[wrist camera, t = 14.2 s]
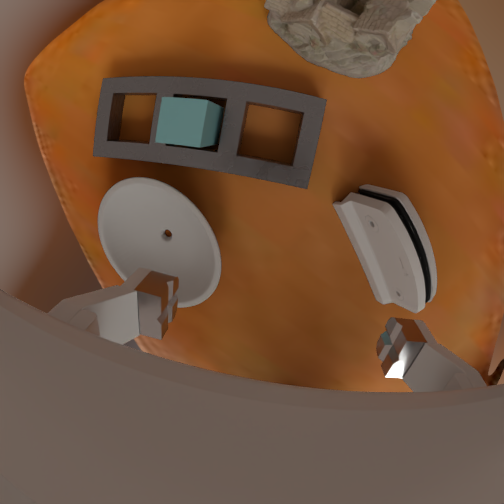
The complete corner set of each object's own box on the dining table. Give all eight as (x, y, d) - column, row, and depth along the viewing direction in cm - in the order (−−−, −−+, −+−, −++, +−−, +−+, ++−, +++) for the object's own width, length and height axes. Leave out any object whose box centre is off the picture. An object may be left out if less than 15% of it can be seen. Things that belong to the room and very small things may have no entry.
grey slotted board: (304, 184, 31) (306, 189, 29) (105, 153, 31) (92, 156, 29) (322, 102, 27) (326, 99, 25) (115, 81, 27) (102, 78, 25)
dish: (253, 253, 36) (250, 271, 31) (177, 304, 40) (166, 325, 35) (164, 145, 31) (146, 147, 26) (98, 215, 35) (78, 227, 31)
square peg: (224, 108, 29) (208, 100, 21) (217, 144, 30) (200, 147, 23) (188, 104, 29) (162, 96, 21) (182, 139, 30) (155, 142, 23)
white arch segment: (330, 201, 32) (382, 208, 22) (358, 181, 32) (413, 184, 23) (376, 301, 37) (421, 331, 28) (399, 282, 37) (445, 306, 28)
